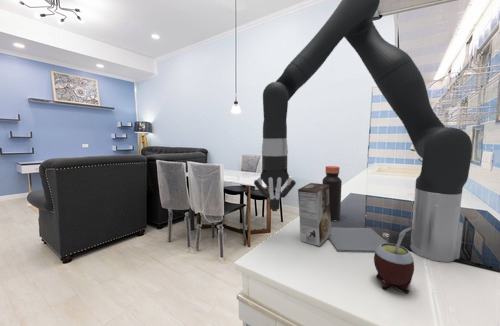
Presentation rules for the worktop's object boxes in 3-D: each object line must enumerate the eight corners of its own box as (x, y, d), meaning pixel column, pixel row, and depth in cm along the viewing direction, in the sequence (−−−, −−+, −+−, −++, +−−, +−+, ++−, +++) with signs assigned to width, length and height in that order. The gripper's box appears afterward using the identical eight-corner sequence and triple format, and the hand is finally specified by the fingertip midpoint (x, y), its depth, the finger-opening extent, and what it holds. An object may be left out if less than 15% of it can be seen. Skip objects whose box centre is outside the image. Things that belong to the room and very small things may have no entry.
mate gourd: (383, 270, 51) (387, 208, 49) (423, 290, 44) (430, 219, 43) (364, 281, 47) (368, 214, 46) (405, 305, 41) (412, 227, 39)
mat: (370, 229, 74) (370, 228, 74) (397, 253, 59) (398, 251, 59) (322, 228, 75) (322, 227, 74) (337, 251, 60) (337, 249, 60)
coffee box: (312, 230, 73) (310, 182, 71) (331, 234, 69) (330, 184, 67) (299, 241, 66) (296, 188, 64) (320, 246, 62) (318, 190, 60)
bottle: (343, 219, 83) (346, 167, 81) (331, 222, 80) (334, 168, 78) (329, 213, 89) (331, 165, 87) (317, 217, 86) (319, 166, 84)
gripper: (295, 153, 68) (294, 206, 70) (252, 153, 69) (253, 206, 71) (299, 154, 61) (298, 215, 63) (251, 155, 62) (252, 214, 64)
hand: (274, 210), depth 67 cm, fingers closed
